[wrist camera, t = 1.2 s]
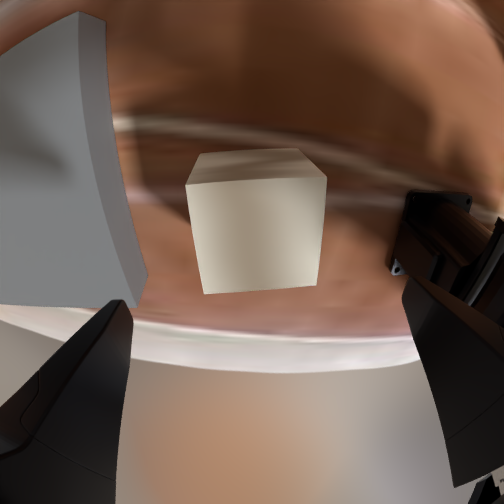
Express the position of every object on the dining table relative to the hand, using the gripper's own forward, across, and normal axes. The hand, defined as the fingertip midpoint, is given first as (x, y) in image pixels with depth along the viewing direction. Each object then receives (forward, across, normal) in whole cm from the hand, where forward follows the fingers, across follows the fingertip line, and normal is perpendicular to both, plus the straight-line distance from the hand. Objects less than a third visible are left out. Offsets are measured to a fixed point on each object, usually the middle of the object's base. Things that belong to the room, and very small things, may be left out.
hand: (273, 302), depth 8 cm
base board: (+8, +15, -3) cm, 18 cm away
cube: (+8, 0, 0) cm, 8 cm away
